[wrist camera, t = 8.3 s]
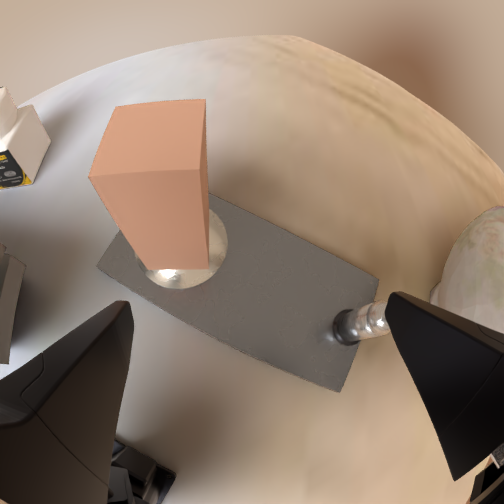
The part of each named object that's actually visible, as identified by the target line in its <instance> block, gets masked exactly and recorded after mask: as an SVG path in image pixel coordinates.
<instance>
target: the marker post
mask: <svg viewBox="0 0 504 504" xmlns="http://www.w3.org/2000/svg"><path fill="white" fill-rule="evenodd" d="M88 178H89V179H90V181H91V183H92V185H93V186H94V188H95V190H96V191H97V193H98V195H99V196H100V198H101V200H102V201H103V203H104V205H105V206H106V208H107V210H108V211H109V213H110V214H111V216H112V218H113V219H114V221H115V222H116V224H117V225H118V227H119V228H120V230H121V231H122V233H123V235H124V236H125V238H126V239H127V241H128V242H129V243H130V245H131V246H132V248H133V249H134V251H135V252H136V254H137V255H138V257H139V258H140V259H141V261H142V262H143V264H144V265H145V266H146V268H147V269H148V270H193V269H209V198H208V177H207V149H206V99H194V100H174V101H160V102H150V103H140V104H132V105H125V106H118V107H115V109H114V111H113V114H112V116H111V118H110V120H109V123H108V125H107V127H106V130H105V132H104V135H103V137H102V140H101V142H100V145H99V147H98V150H97V153H96V155H95V158H94V161H93V164H92V167H91V170H90V173H89V176H88Z"/></svg>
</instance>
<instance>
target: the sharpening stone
mask: <svg viewBox="0 0 504 504" xmlns="http://www.w3.org/2000/svg"><path fill="white" fill-rule="evenodd" d="M5 249H6V247H5V246H4V245H3V244H1V243H0V364H9V356H10V345H11V337H12V329H13V323H14V317H15V311H16V306H17V301H18V296H19V291H20V287H21V283H22V279H23V275H24V271H25V267H26V265H25V264H24V263H22V262H21V261H19V260H18V259H16V258H15V257H13V256H12V255H9V254H5V253H4V252H5Z"/></svg>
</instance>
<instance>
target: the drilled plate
mask: <svg viewBox="0 0 504 504" xmlns="http://www.w3.org/2000/svg"><path fill="white" fill-rule="evenodd" d="M208 198H209V269H193V270H148V269H147V268H146V266H145V265H144V264H143V262H142V261H141V259H140V258H139V257H138V255H137V254H136V252H135V251H134V249H133V248H132V246H131V245H130V243H129V242H128V241H127V239H126V238H125V236H124V235H123V233H122V231H121V230H120V231H119V232H118V234H117V235H116V237H115V238H114V240H113V241H112V243H111V244H110V246H109V247H108V249H107V250H106V252H105V253H104V255H103V256H102V258H101V260H100V261H99V263H98V264H97V266H96V267H98V268H99V269H100V270H101V271H103V272H104V273H106V274H107V275H109V276H110V277H112V278H113V279H115V280H116V281H118V282H119V283H121V284H122V285H124V286H125V287H127V288H128V289H130V290H132V291H133V292H135V293H136V294H138V295H140V296H141V297H143V298H144V299H146V300H148V301H149V302H151V303H153V304H154V305H156V306H158V307H159V308H161V309H163V310H164V311H166V312H168V313H170V314H171V315H173V316H175V317H177V318H178V319H180V320H182V321H184V322H185V323H187V324H189V325H191V326H193V327H194V328H196V329H198V330H200V331H202V332H204V333H206V334H208V335H209V336H211V337H213V338H215V339H217V340H219V341H221V342H223V343H225V344H227V345H229V346H231V347H233V348H235V349H237V350H239V351H241V352H243V353H245V354H247V355H250V356H252V357H254V358H256V359H258V360H260V361H262V362H265V363H267V364H269V365H271V366H273V367H276V368H278V369H280V370H283V371H285V372H287V373H290V374H292V375H294V376H297V377H299V378H302V379H304V380H306V381H309V382H311V383H314V384H317V385H319V386H322V387H324V388H327V389H330V390H332V391H335V392H339V393H340V392H341V389H342V387H343V385H344V382H345V380H346V377H347V375H348V372H349V370H350V367H351V365H352V362H353V360H354V357H355V354H356V352H357V349H358V346H359V343H360V341H361V340H357V341H351V342H348V341H345V340H343V339H342V338H341V337H340V336H339V335H338V332H337V322H338V320H339V318H340V317H341V316H342V315H344V314H346V313H348V312H351V311H353V310H356V309H358V308H361V307H363V306H366V305H368V304H370V303H373V300H374V297H375V293H376V290H377V286H378V283H379V279H377V278H375V277H373V276H372V275H370V274H368V273H366V272H364V271H362V270H361V269H359V268H357V267H355V266H353V265H351V264H349V263H348V262H346V261H344V260H342V259H340V258H338V257H336V256H334V255H333V254H331V253H329V252H327V251H325V250H323V249H321V248H319V247H317V246H315V245H313V244H312V243H310V242H308V241H306V240H304V239H302V238H300V237H298V236H296V235H294V234H292V233H290V232H288V231H286V230H284V229H282V228H280V227H278V226H276V225H274V224H272V223H270V222H268V221H266V220H264V219H262V218H260V217H258V216H256V215H254V214H252V213H250V212H248V211H246V210H244V209H242V208H240V207H237V206H235V205H233V204H231V203H229V202H227V201H225V200H223V199H221V198H219V197H216V196H214V195H212V194H210V193H208Z"/></svg>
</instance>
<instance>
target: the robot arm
mask: <svg viewBox="0 0 504 504" xmlns="http://www.w3.org/2000/svg"><path fill="white" fill-rule="evenodd" d="M384 315H385V319H386V321H387V323H388V326H389V328H390V331H391V333H392V336H393V338H394V341H395V343H396V345H397V348H398V350H399V352H400V354H401V356H402V358H403V360H404V362H405V364H406V366H407V368H408V370H409V372H410V374H411V376H412V378H413V381H414V383H415V385H416V387H417V389H418V391H419V393H420V396H421V398H422V400H423V402H424V405H425V407H426V409H427V411H428V414H429V416H430V418H431V421H432V423H433V426H434V428H435V431H436V433H437V436H438V439H439V441H440V444H441V447H442V449H443V452H444V455H445V457H446V460H447V463H448V466H449V469H450V472H451V475H452V478H453V480H454V481H456V480H458V479H459V478H461V477H462V476H463V475H465V474H466V473H467V472H469V471H470V470H471V469H473V468H474V467H475V466H476V465H478V464H479V463H480V462H481V461H483V460H484V459H485V458H486V457H487V456H489V455H490V457H491V458H492V460H493V462H491V463H490V464H489V465H488V466H487V467H486V468H485V469H484V470H482V471H481V472H480V473H479V474H478V475H476V477H475V481H474V486H473V490H472V494H471V498H470V504H504V334H503V333H500V332H498V331H495V330H493V329H490V328H488V327H485V326H483V325H481V324H478V323H475V322H474V321H471V320H469V319H466V318H464V317H462V316H459V315H457V314H455V313H452V312H450V311H447V310H445V309H443V308H440V307H438V306H435V305H433V304H431V303H428V302H426V301H423V300H421V299H418V298H416V297H414V296H411V295H409V294H406V293H404V292H400V291H399V292H392V293H391V294H390V296H389V299H388V302H387V305H386V308H385V312H384ZM133 334H134V320H133V316H132V311H131V306H130V303H129V302H128V301H115V302H114V303H112V304H111V305H109V306H108V307H106V308H105V309H103V310H102V311H100V312H99V313H97V314H96V315H94V316H93V317H91V318H90V319H88V320H87V321H86V322H84V323H83V324H81V325H80V326H78V327H77V328H75V329H74V330H72V331H71V332H70V333H68V334H67V335H65V336H64V337H62V338H61V339H60V340H58V341H57V342H55V343H54V344H53V345H51V346H50V347H48V348H47V349H46V350H44V351H43V353H40V354H39V355H37V356H36V357H34V358H33V359H32V360H30V361H29V362H27V363H26V364H24V365H23V366H22V367H20V368H18V369H17V370H15V371H14V372H12V373H11V374H9V375H7V376H6V377H4V378H3V379H1V380H0V504H161V502H162V501H163V499H164V497H165V496H166V494H167V492H168V491H169V489H170V487H171V486H172V484H173V482H174V481H175V478H176V474H175V473H174V472H173V471H171V470H169V469H167V468H165V467H163V466H161V465H159V464H157V463H156V461H155V460H153V459H151V458H149V457H147V456H145V455H143V454H142V453H140V452H138V451H136V450H135V449H133V448H131V447H130V446H128V447H127V446H125V445H123V444H122V443H120V442H119V441H117V440H115V433H116V428H117V422H118V417H119V412H120V407H121V402H122V397H123V392H124V388H125V383H126V379H127V375H128V370H129V364H130V356H131V348H132V340H133ZM167 475H171V476H172V477H171V478H170V477H168V476H167Z"/></svg>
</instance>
